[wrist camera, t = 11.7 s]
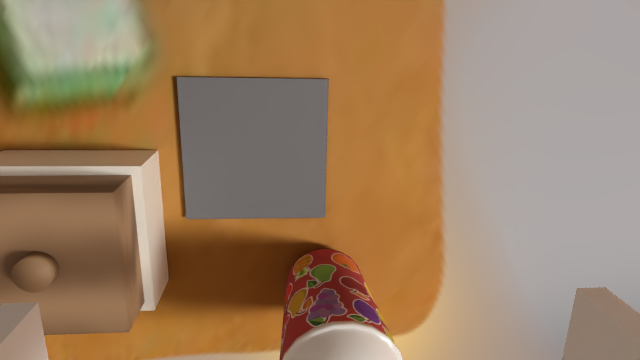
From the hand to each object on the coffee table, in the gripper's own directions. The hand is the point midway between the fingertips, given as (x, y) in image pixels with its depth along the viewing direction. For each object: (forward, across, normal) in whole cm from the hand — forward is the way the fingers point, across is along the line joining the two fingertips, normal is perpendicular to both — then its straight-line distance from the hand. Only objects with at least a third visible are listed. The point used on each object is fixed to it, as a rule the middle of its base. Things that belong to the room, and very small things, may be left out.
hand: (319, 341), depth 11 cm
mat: (+29, -3, -2) cm, 29 cm away
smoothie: (+29, +3, -14) cm, 32 cm away
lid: (+24, -17, -8) cm, 30 cm away
